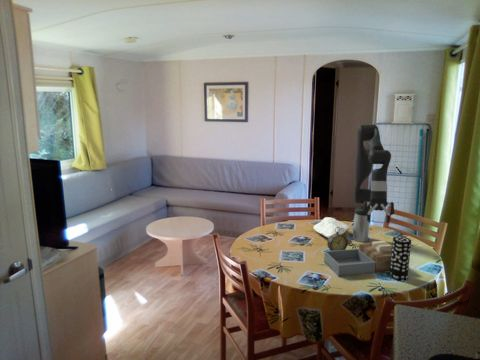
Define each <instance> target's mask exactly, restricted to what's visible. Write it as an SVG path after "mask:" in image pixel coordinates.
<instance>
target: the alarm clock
mask: <svg viewBox="0 0 480 360" xmlns="http://www.w3.org/2000/svg"><path fill="white" fill-rule="evenodd" d="M337 228H339V227H337ZM339 229H340V228H339ZM339 231H340V230H339ZM335 232H336V229H335ZM326 244H327V247H328V250H329V251H336V250H347V248H348V239H347V237H346V236H344V234H342V235H341V234H338V232H337V233H336V234H333V235H331V236H330V237H329V238H327V243H326Z"/></svg>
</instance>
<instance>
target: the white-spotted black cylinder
mask: <svg viewBox="0 0 480 360" xmlns="http://www.w3.org/2000/svg"><path fill="white" fill-rule="evenodd" d="M391 245H392V255H391V266H390V272H389V277H390V278H391V279H392V280H395V281H398V282H399V281H400V282H406V281H407V280H408V276H409V268H410V267H409V266H410V257H411V248H412V239H410V237H409V238H408V237H405V236H394V237H393V238H392V244H391Z"/></svg>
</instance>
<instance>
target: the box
mask: <svg viewBox="0 0 480 360" xmlns="http://www.w3.org/2000/svg"><path fill="white" fill-rule="evenodd" d="M323 253H324V254H323V257H324V258H323V262H324V263H325V264H326V265H327V266H328V267H329V268H330V270H332V271H333V273H334V274H335V275H336V276H337V277H338V278H339V277H347V276H348V277H349V276H358V275H359V276H360V275H370V274H376V273H375V264H376V262H375V261H373V260H372V259H371V258H369V257H368V256H367V255H366V254H364V253H363V252H362V251H360V250H359V248H353V249H352V248H351V249H350V248H349V249H345V250H336V251H331V250H326V251H324V252H323Z"/></svg>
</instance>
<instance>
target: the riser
mask: <svg viewBox="0 0 480 360" xmlns="http://www.w3.org/2000/svg"><path fill="white" fill-rule="evenodd" d="M358 249H359V250H360V251H362V252H363V253H364V254H366V255H367V256H368V257H369V258H371V259H372V260H373V261H375V262H376V264H375V273H374V274H378V273H379V274H380V273H382V274H383V273H390V266H391V255H392V248H391V251H384V252H379V251H377V250H376V249H374V248H373V247H372V242H361V243H359V246H358Z"/></svg>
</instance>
